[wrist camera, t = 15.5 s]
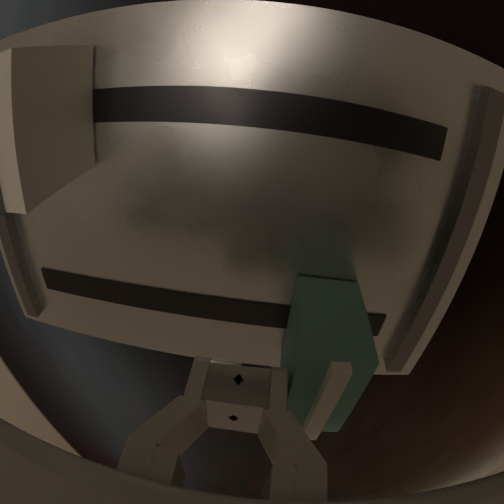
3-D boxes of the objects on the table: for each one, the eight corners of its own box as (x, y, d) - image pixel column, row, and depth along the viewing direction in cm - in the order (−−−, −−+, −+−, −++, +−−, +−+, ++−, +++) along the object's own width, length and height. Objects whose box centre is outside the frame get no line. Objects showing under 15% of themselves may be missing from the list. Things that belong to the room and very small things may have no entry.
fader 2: (358, 282, 12) (381, 373, 8) (331, 357, 14) (338, 440, 11) (297, 275, 12) (299, 369, 8) (280, 353, 14) (276, 437, 11)
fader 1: (93, 45, 8) (0, 49, 4) (95, 165, 10) (17, 221, 7) (41, 55, 8) (-49, 70, 4) (47, 165, 10) (-31, 215, 7)
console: (498, 74, 8) (531, 80, 7) (402, 352, 16) (411, 383, 14) (-4, 48, 9) (-36, 52, 7) (38, 300, 17) (20, 323, 15)
